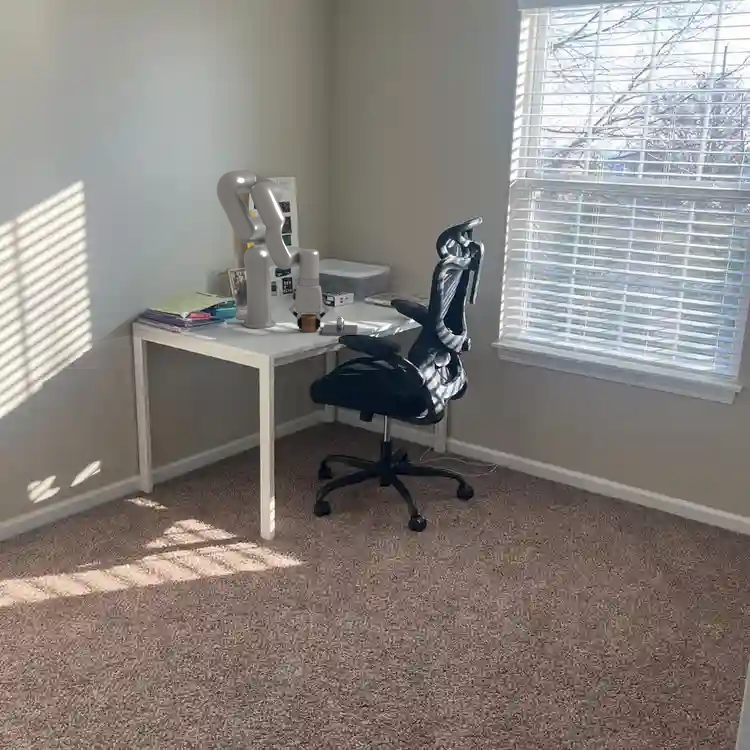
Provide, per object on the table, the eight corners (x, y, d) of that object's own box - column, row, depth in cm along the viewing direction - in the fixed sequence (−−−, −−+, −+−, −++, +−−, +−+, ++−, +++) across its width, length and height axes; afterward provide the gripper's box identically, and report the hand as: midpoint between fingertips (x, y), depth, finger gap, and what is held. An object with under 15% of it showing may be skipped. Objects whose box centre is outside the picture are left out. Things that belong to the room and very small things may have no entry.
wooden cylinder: (300, 332, 314) (300, 315, 312) (301, 328, 319) (301, 312, 318) (316, 332, 314) (316, 316, 312) (317, 329, 319) (317, 312, 318)
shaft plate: (322, 335, 310) (322, 320, 309) (324, 327, 323) (324, 312, 321) (356, 336, 310) (356, 321, 309) (357, 328, 323) (357, 313, 321)
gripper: (285, 283, 308) (285, 330, 313) (331, 284, 308) (330, 331, 313) (287, 279, 315) (287, 326, 320) (332, 281, 315) (331, 327, 320)
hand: (308, 328), depth 316 cm, fingers closed on wooden cylinder, 6 cm apart
